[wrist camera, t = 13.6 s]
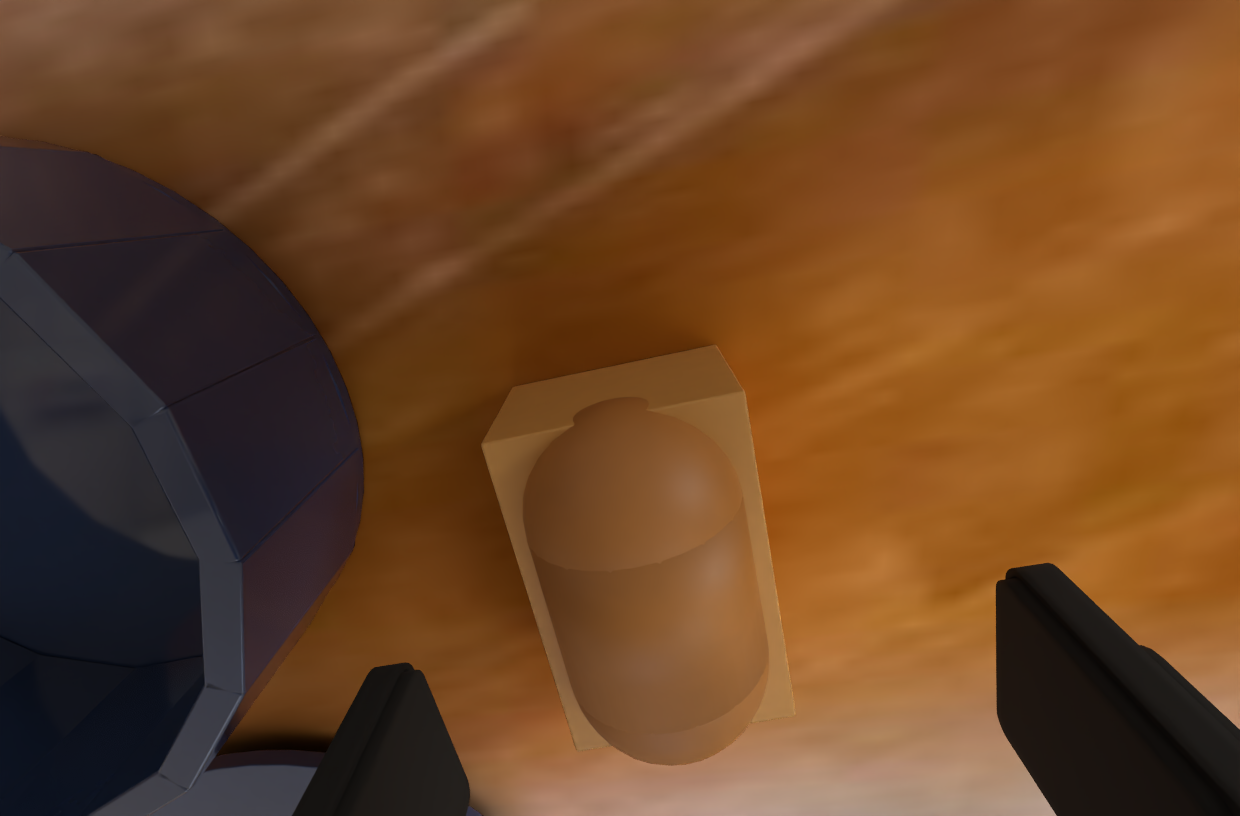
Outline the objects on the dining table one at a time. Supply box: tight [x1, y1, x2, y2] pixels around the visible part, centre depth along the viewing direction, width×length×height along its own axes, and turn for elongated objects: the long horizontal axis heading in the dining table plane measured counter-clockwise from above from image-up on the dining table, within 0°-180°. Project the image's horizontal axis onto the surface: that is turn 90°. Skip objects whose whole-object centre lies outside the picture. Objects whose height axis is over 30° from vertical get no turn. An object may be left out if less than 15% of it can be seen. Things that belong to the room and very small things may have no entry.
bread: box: [481, 345, 796, 765], centre depth 15 cm, size 9×6×6 cm, turn 12°
